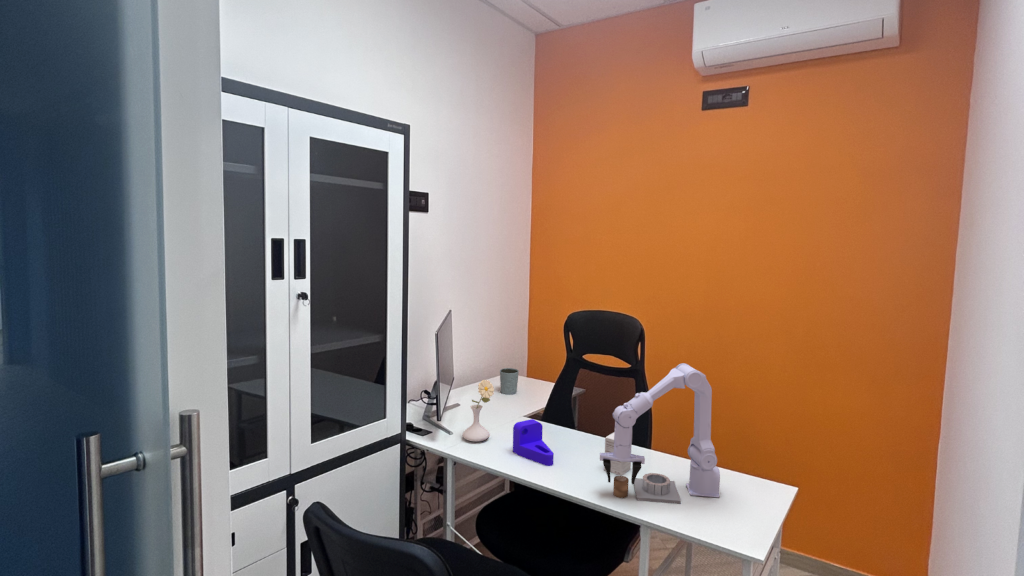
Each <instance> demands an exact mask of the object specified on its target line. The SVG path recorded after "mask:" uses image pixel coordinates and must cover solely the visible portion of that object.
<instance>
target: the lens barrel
mask: <svg viewBox="0 0 1024 576" xmlns="http://www.w3.org/2000/svg"><path fill="white" fill-rule="evenodd" d="M642 479H643V485H642V487H643V490H644V491H646V492H648V493H650V494H653V495H666V494H668V493H669V492H670V481H671V479H670V477H668V476H666V475H664V474H661V473H657V472H655V473H653V472H650V473H645V474H644V475H643V476H642Z"/></svg>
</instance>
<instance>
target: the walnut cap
mask: <svg viewBox="0 0 1024 576" xmlns="http://www.w3.org/2000/svg"><path fill="white" fill-rule="evenodd" d="M612 491H613V492H612V494H613V495H612V496H614V497H615V498H618V499H626V498H628V496H629V478H628V477H626V476H624V475H622V476H621V475H617V476H614V477H613V490H612Z"/></svg>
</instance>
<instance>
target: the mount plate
mask: <svg viewBox="0 0 1024 576" xmlns="http://www.w3.org/2000/svg"><path fill="white" fill-rule="evenodd" d="M642 485H643V478H638V477H636V478H635V482H634V484H633V489H634V492H635V493H634V494H635V497H636V501H642V502H656V503H664V504H665V503H666V504H676V505H677V504H679V505H681V504H682V499H681V498H680V495H679V491H678V488H677V485H676V482H675V480H670V492H669V493H668V494H666V495H653V494H650V493H648V492H646V491H644V490H643V487H642Z"/></svg>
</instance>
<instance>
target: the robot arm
mask: <svg viewBox="0 0 1024 576" xmlns="http://www.w3.org/2000/svg"><path fill="white" fill-rule="evenodd" d="M686 387H687V388H689V389H691V390H692V391H693V392H694V400H693V401H694V403H693V405H694V406H693V407H694V411H693V413H694V415H693V416H694V418H693V437H691V438H690V444H689V445H688V448H687V455H688V457H689V458H690V466H689V483H687V482H686V483H685V486H686V488H687V491H688V493H689V496H695V497H708V498H720V485H721V473H720V468H719V467H718V466H717V463H718V457H717V455H716V453H715V452H716V449H715V446H714V445H713V442H712V439H711V436H712V400H713V399H712V398H713V397H712V395H713V391H712V390H713V389H712V386H711V385H710V383H709V381H708V379H707V375H706V374H705V373H703V372H702V371H699V370H697V369H695V368H694V367H692V366H691V365H689V364H688V363H684V362H683V363H679V364H678V365H676V366H675V367H673V368H672V369H670V371H669V372H668V374H667V375H665V377H663V378H662V379H661V380H659V382H657V383H656V384H655V385H654V386H652V387H651V388H650V389H649V390H648V391H647V392H646V391H645V392H643V391H641V392H637V393H635V395H634V397H633V398H631V399H630V400H629V401H627V402H624V403H623V405H618V406H617V407H616V408H615V409H614V411H613V412H612V418H613V419H614V432H613V433H614V452H611V453H605V452H600V453H599V461H601V462H602V464H603V468H604V467H605V469H606V470H605V473H606V475H607V483H611V472H610V470H611V461H621V462H631V463H632V464H631V467H632V469H631V470H632V471H631V479H630V480H631V485H634V482H635V478H637V476H638V474H639V472H640V470H641V468H642V465H645V462H646V458H645V455H638V454H634V453H632V443H633V426H634V425H635V424H636V421H637V419H638V418H639V417H640V416H641V415H643V414H644V413H646V412H647V411H648V410H649V409H651V408H653V405H654V401H656V400H657V399H659V398H660V397H662V396H664V395H665V394H666V393H668V392H669V391H671V390H673V389H683V390H684V389H686Z"/></svg>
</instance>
